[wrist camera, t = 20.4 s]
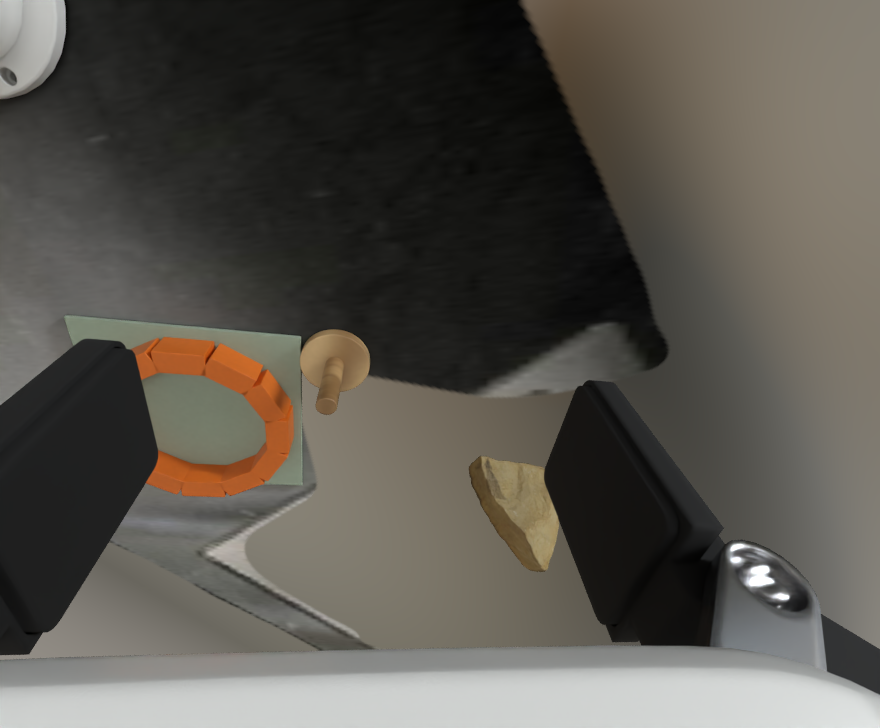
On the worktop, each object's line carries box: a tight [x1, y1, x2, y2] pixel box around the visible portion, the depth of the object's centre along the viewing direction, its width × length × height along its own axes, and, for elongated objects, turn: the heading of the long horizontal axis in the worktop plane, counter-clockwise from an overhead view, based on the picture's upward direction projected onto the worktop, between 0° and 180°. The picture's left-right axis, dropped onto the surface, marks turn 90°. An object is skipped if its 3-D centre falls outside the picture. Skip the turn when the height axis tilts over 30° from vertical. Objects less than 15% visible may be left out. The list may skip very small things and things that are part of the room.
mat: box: [64, 315, 303, 485], centre depth 41 cm, size 18×18×1 cm
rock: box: [469, 456, 559, 572], centre depth 46 cm, size 11×9×10 cm
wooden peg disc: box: [300, 329, 370, 415], centre depth 36 cm, size 6×6×7 cm
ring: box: [130, 337, 294, 497], centre depth 39 cm, size 16×16×2 cm
